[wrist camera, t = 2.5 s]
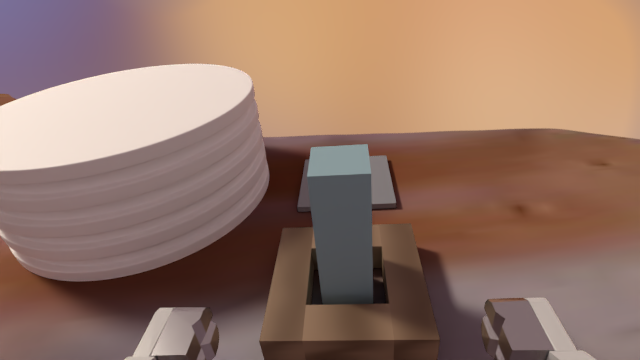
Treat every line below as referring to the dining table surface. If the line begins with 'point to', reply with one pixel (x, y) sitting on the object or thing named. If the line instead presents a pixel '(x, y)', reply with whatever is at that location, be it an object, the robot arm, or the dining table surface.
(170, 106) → the plate stack
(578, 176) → the dining table surface
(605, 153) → the dining table surface
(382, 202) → the coaster
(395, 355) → the holder
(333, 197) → the peg
